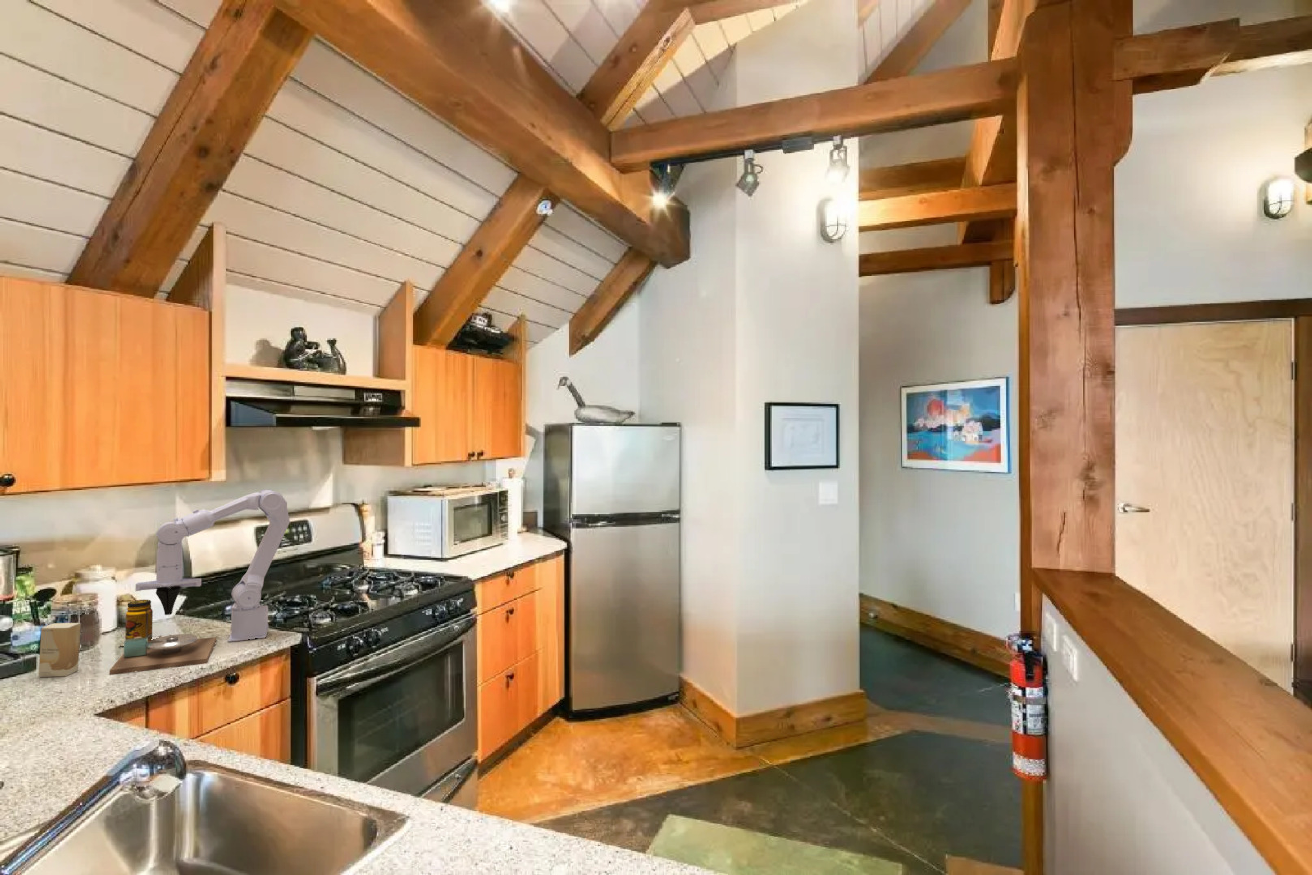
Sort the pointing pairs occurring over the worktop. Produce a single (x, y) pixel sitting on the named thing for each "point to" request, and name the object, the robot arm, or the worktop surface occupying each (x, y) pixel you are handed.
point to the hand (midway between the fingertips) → (168, 613)
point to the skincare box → (59, 649)
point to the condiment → (139, 620)
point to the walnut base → (166, 657)
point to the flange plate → (156, 644)
